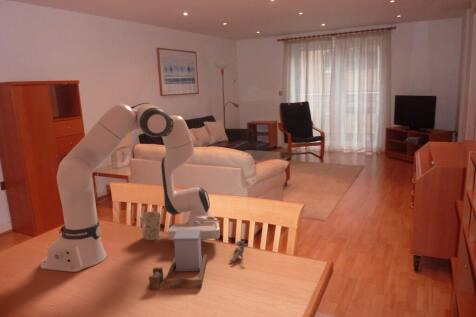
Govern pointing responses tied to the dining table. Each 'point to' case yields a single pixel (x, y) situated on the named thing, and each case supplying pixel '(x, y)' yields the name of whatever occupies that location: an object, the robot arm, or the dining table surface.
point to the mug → (150, 225)
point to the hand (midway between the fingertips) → (191, 240)
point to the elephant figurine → (238, 250)
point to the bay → (176, 282)
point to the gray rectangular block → (188, 249)
